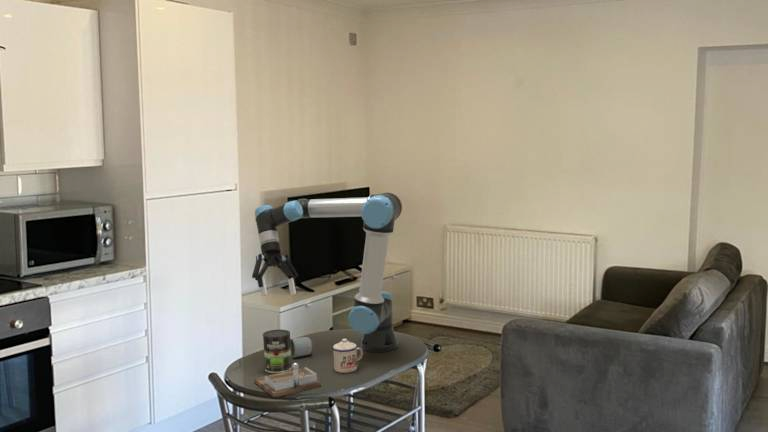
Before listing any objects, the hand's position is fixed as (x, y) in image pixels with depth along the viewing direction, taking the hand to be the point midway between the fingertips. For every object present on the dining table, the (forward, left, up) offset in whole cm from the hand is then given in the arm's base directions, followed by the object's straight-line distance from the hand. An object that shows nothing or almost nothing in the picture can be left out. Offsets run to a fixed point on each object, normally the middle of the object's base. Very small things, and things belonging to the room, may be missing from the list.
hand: (279, 295), depth 297 cm
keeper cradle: (-13, +28, -25) cm, 40 cm away
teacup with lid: (-28, +6, -27) cm, 39 cm away
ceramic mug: (-4, -9, -27) cm, 29 cm away
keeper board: (-10, +25, -27) cm, 38 cm away
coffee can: (-1, +9, -27) cm, 28 cm away
